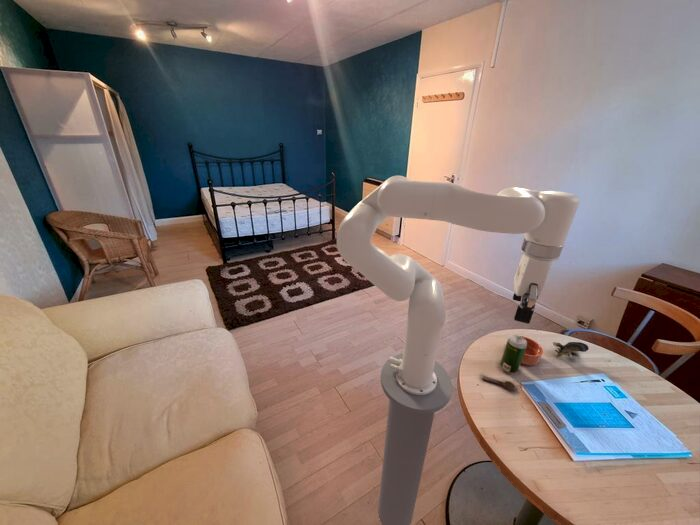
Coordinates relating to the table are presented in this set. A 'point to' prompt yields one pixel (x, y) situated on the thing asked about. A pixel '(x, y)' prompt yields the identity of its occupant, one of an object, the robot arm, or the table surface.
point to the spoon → (501, 383)
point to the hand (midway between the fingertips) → (520, 310)
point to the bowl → (532, 352)
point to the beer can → (513, 354)
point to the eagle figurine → (570, 348)
